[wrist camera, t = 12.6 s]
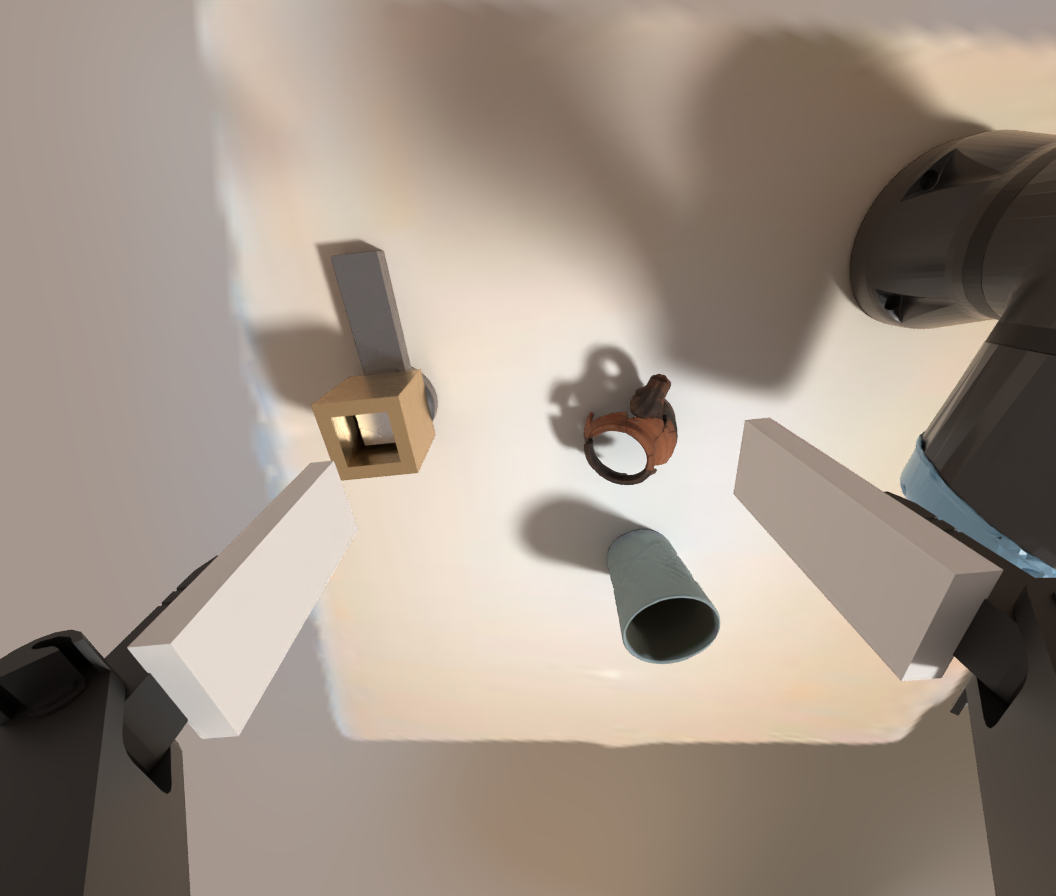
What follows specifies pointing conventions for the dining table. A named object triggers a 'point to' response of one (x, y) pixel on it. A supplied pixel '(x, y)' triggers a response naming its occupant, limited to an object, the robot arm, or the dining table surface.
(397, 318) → the grey handled bowl
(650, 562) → the grey green cup
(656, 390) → the ring-shaped clay flask
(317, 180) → the dining table surface
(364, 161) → the dining table surface
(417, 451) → the hollow square tube
